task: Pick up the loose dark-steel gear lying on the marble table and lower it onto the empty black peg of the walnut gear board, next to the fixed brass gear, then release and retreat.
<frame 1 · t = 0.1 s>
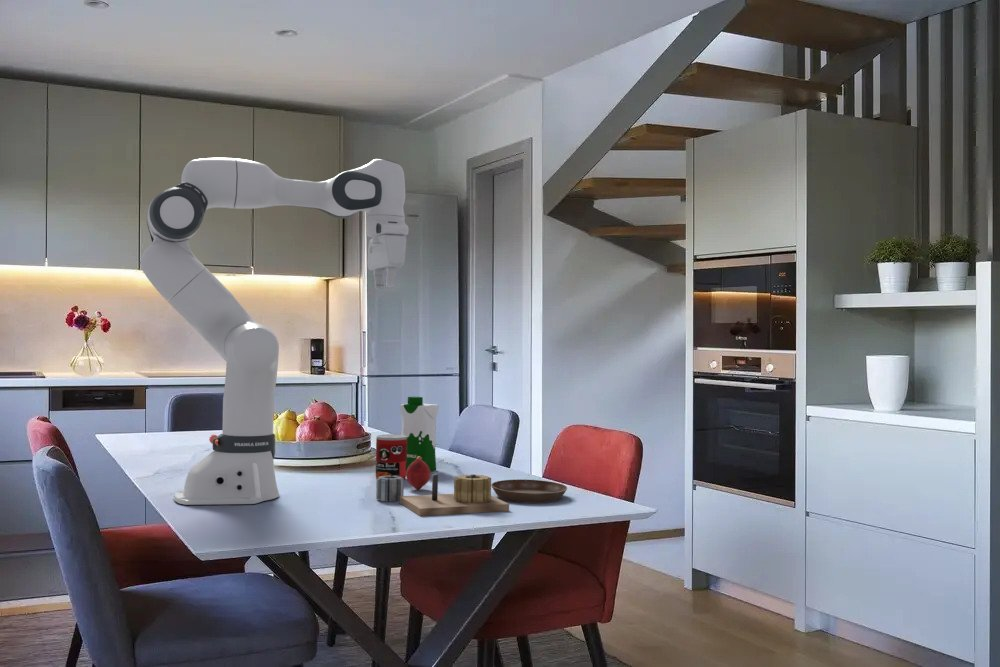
hand: (384, 288, 227), 48 cm above the table, fingers open, 8 cm apart
onion: (418, 490, 231), on the table
canned food: (390, 479, 246), on the table
steel gear: (389, 499, 217), on the table
plant saucer: (528, 499, 224), on the table
milk carton: (418, 471, 261), on the table
gear board: (453, 506, 210), on the table
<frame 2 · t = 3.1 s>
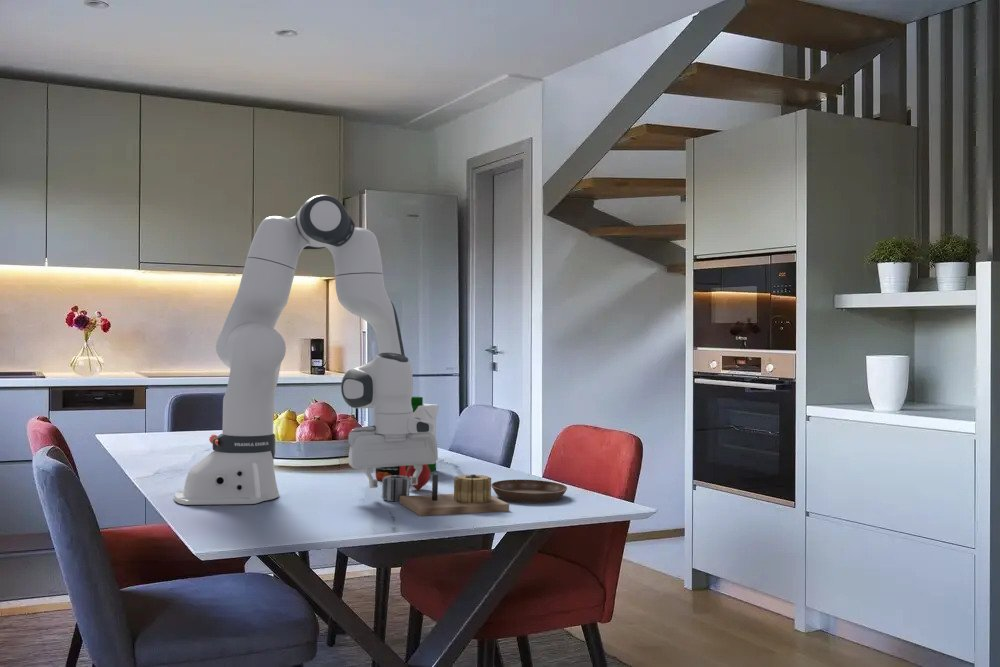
hand: (393, 486, 218), 3 cm above the table, fingers open, 8 cm apart
steel gear: (395, 499, 218), on the table
everything else where it was.
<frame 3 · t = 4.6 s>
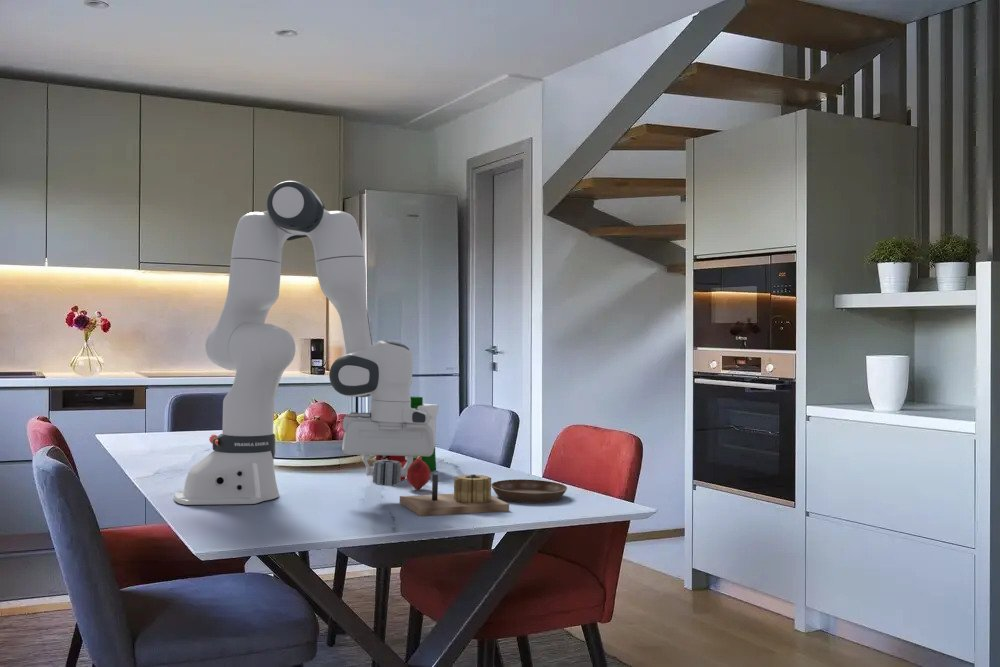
hand: (386, 475, 215), 6 cm above the table, fingers closed on steel gear, 6 cm apart
steel gear: (386, 484, 214), point 4 cm above the table, touching gripper
everything else where it was.
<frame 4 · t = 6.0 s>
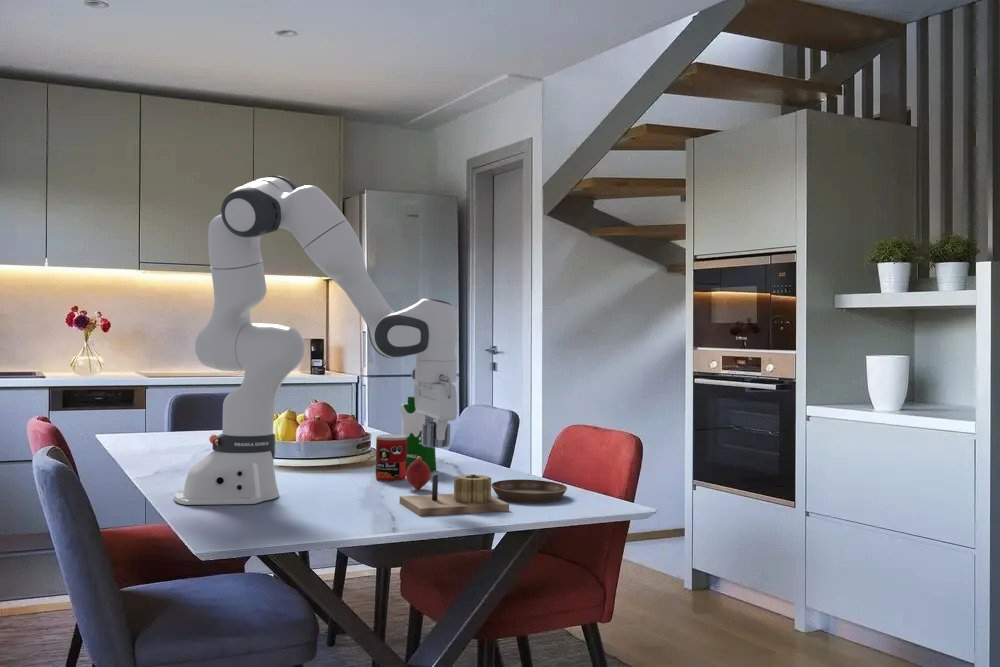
hand: (434, 437, 209), 15 cm above the table, fingers closed on steel gear, 6 cm apart
steel gear: (435, 446, 209), point 13 cm above the table, touching gripper
everything else where it was.
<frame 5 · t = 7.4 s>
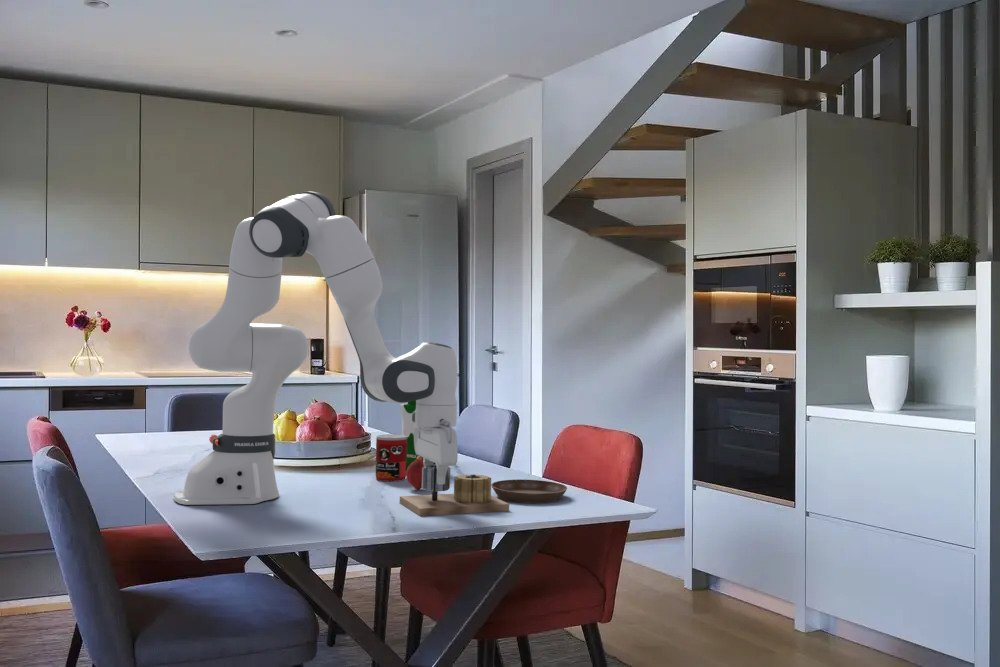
hand: (434, 481, 209), 6 cm above the table, fingers closed on steel gear, 6 cm apart
steel gear: (435, 489, 209), point 4 cm above the table, touching gripper
everything else where it was.
when the fingers open (5 cm above the table, at t = 8.5 s): steel gear drops 1 cm, resting on gear board.
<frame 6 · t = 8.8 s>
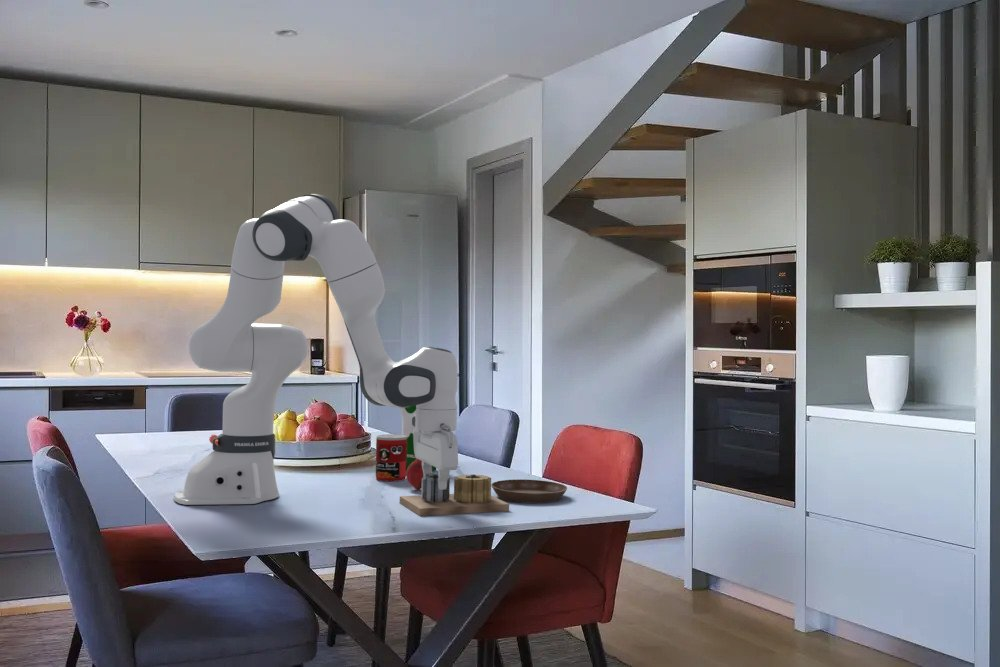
hand: (434, 485, 210), 5 cm above the table, fingers open, 8 cm apart
steel gear: (435, 500, 210), point 1 cm above the table, touching gear board
everything else where it was.
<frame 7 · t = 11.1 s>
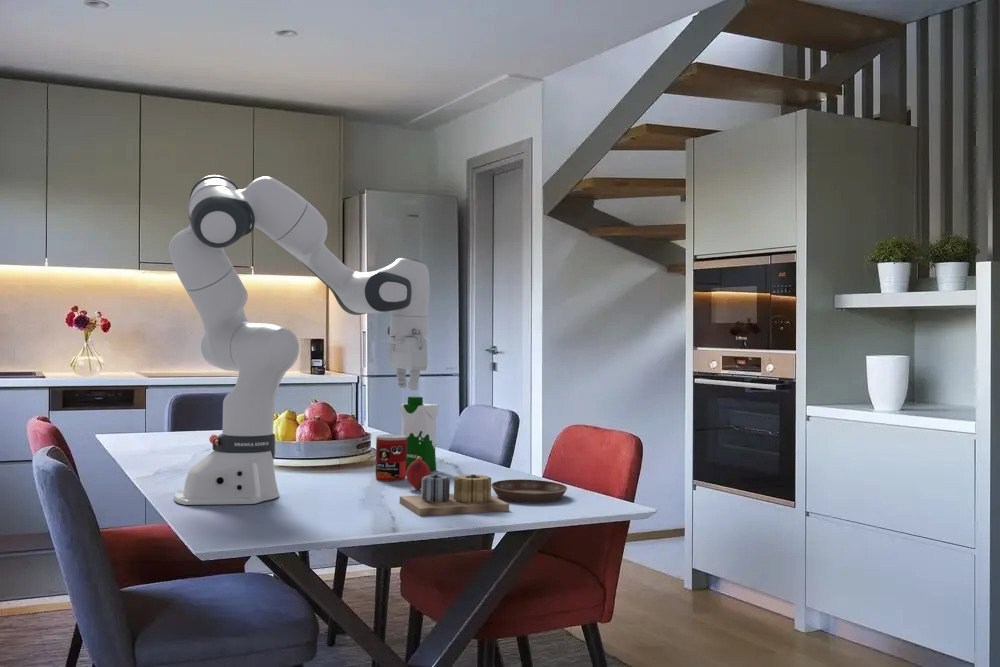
hand: (407, 388, 224), 25 cm above the table, fingers open, 8 cm apart
nothing on the table moved.
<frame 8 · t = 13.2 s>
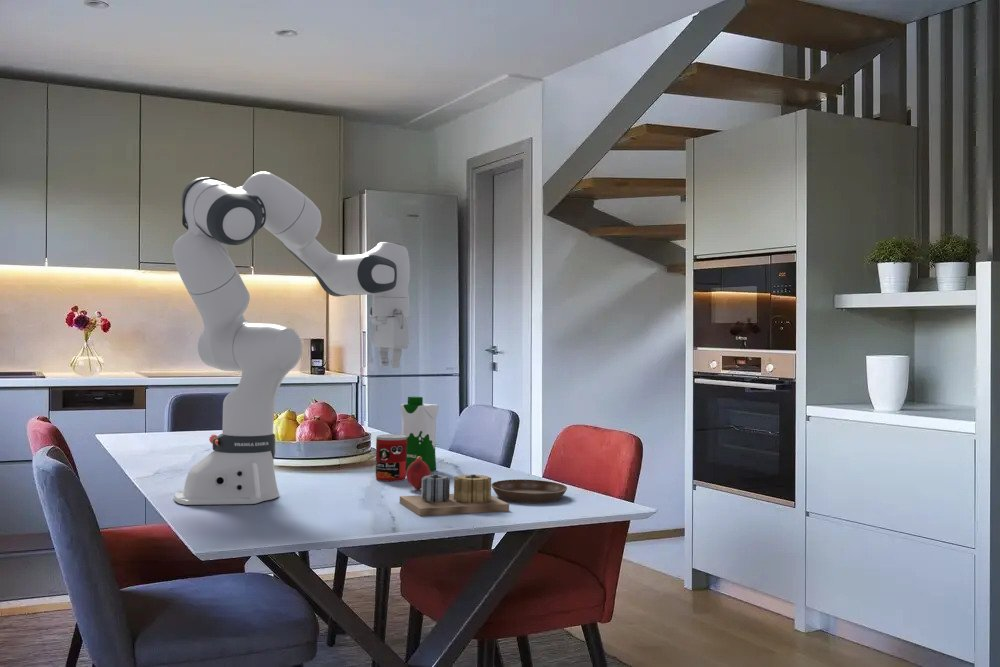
hand: (389, 366, 234), 29 cm above the table, fingers open, 8 cm apart
nothing on the table moved.
at the end: steel gear 0.2 cm from the target spot on the gear board, point 1.5 cm above the gear board's base; steel gear tilted 0°; the gripper is holding nothing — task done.
